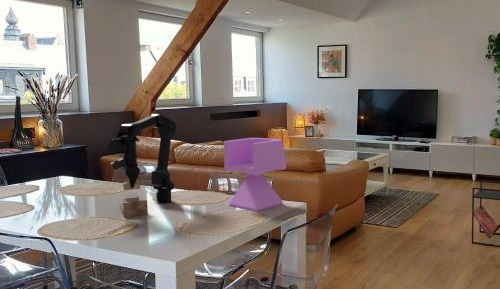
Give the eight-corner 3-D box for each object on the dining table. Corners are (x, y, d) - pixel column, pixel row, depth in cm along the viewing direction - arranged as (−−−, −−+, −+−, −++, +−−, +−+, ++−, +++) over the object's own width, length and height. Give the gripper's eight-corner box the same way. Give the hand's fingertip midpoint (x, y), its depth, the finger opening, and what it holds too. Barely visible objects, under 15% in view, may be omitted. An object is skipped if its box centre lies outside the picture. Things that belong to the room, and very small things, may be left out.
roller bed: (141, 203, 237) (140, 196, 237) (147, 213, 217) (146, 205, 217) (119, 205, 234) (119, 198, 234) (123, 216, 214) (123, 208, 213)
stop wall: (147, 213, 217) (146, 199, 217) (147, 214, 216) (147, 200, 215) (123, 215, 214) (122, 202, 214) (124, 216, 212) (123, 203, 212)
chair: (225, 206, 228) (223, 141, 225) (254, 198, 243) (253, 137, 239) (257, 212, 215) (256, 143, 211) (286, 204, 229) (285, 139, 226)
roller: (139, 188, 224) (139, 180, 223) (140, 189, 221) (139, 181, 220) (123, 189, 222) (123, 181, 221) (124, 190, 218) (123, 183, 218)
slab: (136, 196, 237) (136, 192, 236) (139, 201, 225) (139, 197, 225) (123, 197, 235) (123, 193, 234) (125, 202, 223) (125, 198, 223)
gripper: (110, 151, 226) (111, 185, 227) (112, 156, 208) (114, 192, 210) (135, 149, 229) (136, 183, 231) (139, 154, 211) (141, 190, 213)
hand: (131, 187), depth 221 cm, fingers closed on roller, 3 cm apart
